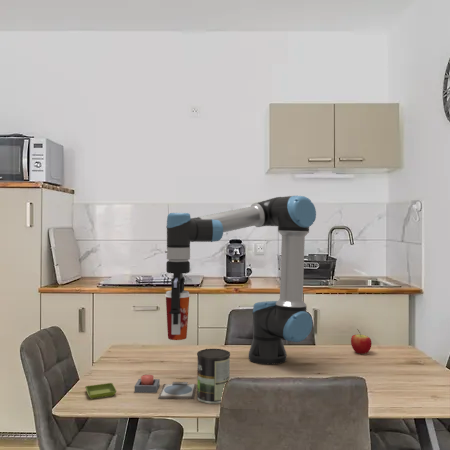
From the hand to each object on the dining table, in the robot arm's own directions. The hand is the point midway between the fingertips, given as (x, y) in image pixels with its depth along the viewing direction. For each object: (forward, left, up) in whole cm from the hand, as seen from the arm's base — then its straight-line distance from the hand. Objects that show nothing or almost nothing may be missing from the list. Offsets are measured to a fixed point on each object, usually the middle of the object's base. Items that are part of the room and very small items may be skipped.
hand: (177, 331), depth 155 cm
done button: (+10, -2, -18) cm, 21 cm away
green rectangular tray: (+24, +3, -20) cm, 32 cm away
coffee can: (-12, +5, -20) cm, 24 cm away
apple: (-72, -47, -20) cm, 88 cm away
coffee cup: (0, 0, -2) cm, 2 cm away
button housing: (+10, -2, -19) cm, 22 cm away
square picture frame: (0, +1, -19) cm, 20 cm away
